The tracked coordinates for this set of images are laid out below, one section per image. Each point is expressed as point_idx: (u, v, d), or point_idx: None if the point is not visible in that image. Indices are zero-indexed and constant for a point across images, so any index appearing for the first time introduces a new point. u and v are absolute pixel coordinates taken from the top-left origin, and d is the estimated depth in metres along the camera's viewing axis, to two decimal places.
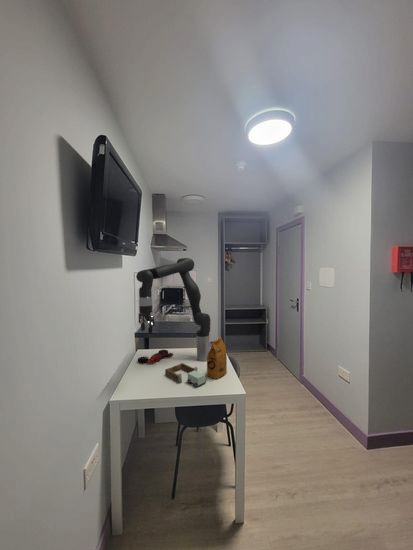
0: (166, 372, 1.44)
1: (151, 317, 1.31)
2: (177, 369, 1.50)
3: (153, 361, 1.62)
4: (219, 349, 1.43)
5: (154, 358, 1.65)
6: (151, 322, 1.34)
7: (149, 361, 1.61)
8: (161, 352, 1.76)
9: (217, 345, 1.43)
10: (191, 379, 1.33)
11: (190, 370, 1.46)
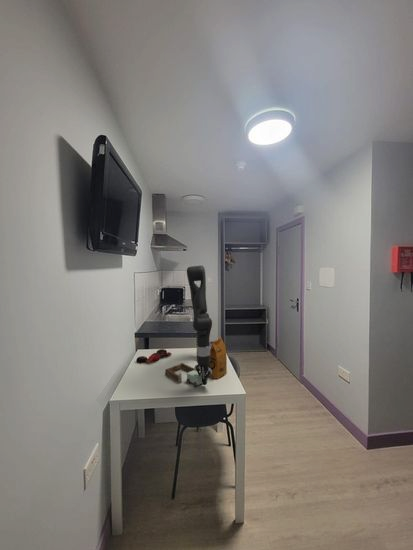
0: (166, 372, 1.44)
1: (210, 373, 1.25)
2: (177, 369, 1.50)
3: (152, 361, 1.63)
4: (219, 349, 1.43)
5: (153, 358, 1.66)
6: (207, 374, 1.29)
7: (148, 361, 1.62)
8: (160, 352, 1.77)
9: (217, 345, 1.43)
10: (190, 379, 1.33)
11: (190, 370, 1.46)
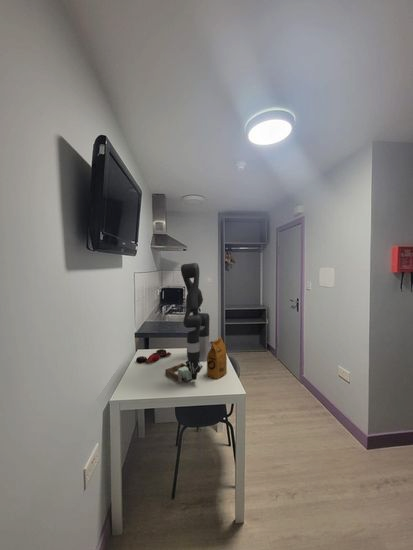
0: (166, 372, 1.44)
1: (200, 368, 1.30)
2: (177, 369, 1.50)
3: (152, 361, 1.63)
4: (219, 349, 1.43)
5: (153, 358, 1.66)
6: (197, 369, 1.35)
7: (148, 361, 1.62)
8: (159, 352, 1.77)
9: (217, 345, 1.43)
10: (181, 374, 1.39)
11: None
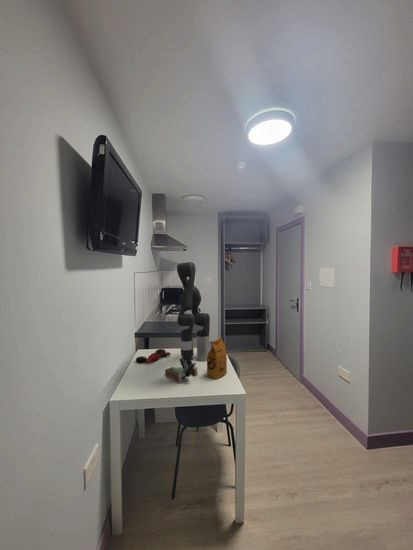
0: (166, 372, 1.44)
1: (193, 365, 1.34)
2: None
3: (152, 360, 1.63)
4: (219, 349, 1.43)
5: (152, 357, 1.66)
6: None
7: (148, 360, 1.62)
8: (158, 352, 1.77)
9: (217, 345, 1.43)
10: (175, 372, 1.43)
11: (190, 370, 1.46)
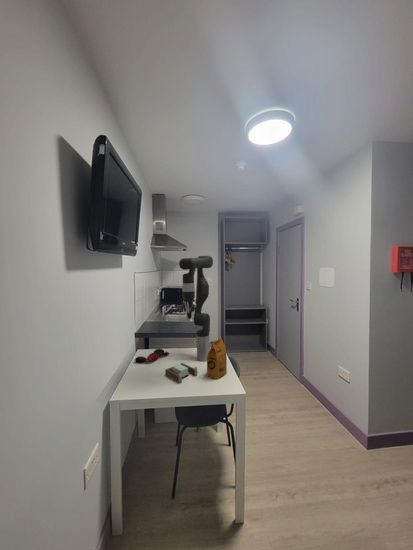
0: (166, 372, 1.44)
1: (194, 306, 1.39)
2: None
3: (151, 360, 1.63)
4: (219, 349, 1.43)
5: (152, 357, 1.67)
6: None
7: (147, 360, 1.63)
8: (157, 351, 1.78)
9: (217, 345, 1.43)
10: (175, 372, 1.43)
11: (190, 370, 1.46)
